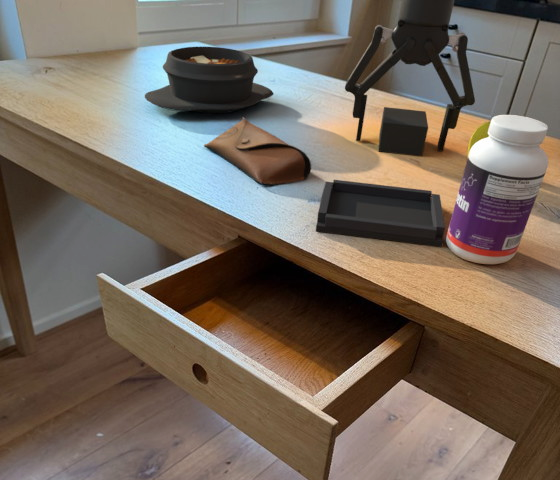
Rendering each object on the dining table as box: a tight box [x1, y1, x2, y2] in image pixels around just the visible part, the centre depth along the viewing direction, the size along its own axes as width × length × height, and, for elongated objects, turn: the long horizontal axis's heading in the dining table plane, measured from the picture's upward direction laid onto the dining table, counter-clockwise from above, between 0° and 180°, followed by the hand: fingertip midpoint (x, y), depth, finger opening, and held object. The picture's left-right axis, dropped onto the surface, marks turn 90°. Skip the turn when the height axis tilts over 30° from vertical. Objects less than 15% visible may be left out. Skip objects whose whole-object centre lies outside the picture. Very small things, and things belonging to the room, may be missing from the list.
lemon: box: [466, 120, 491, 159], centre depth 83 cm, size 6×6×8 cm
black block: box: [378, 106, 429, 157], centre depth 93 cm, size 7×9×4 cm
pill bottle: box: [445, 114, 549, 265], centre depth 61 cm, size 8×8×14 cm
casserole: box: [144, 46, 274, 114], centre depth 102 cm, size 25×19×8 cm
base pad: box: [315, 179, 446, 247], centre depth 71 cm, size 15×12×2 cm
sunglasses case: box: [203, 116, 312, 186], centre depth 83 cm, size 18×7×7 cm
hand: (399, 143), depth 94 cm, fingers open, 13 cm apart
